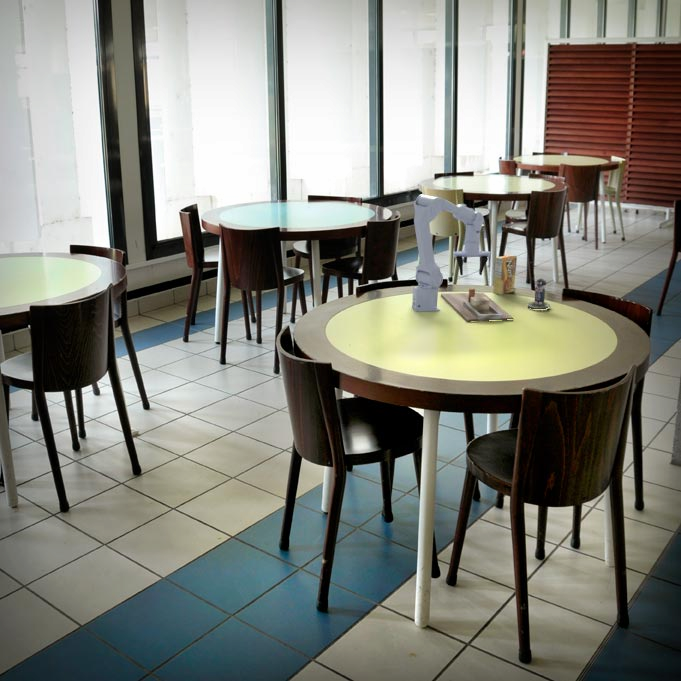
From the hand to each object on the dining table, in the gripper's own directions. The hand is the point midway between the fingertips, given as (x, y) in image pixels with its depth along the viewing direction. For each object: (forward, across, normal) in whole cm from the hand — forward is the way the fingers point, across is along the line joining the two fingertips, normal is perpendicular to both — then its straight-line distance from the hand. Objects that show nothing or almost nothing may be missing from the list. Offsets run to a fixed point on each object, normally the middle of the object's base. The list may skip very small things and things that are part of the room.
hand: (470, 274), depth 339 cm
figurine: (+11, -26, +11) cm, 30 cm away
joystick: (+9, 0, +12) cm, 15 cm away
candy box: (+11, -16, -12) cm, 23 cm away
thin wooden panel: (+10, 0, +12) cm, 16 cm away
